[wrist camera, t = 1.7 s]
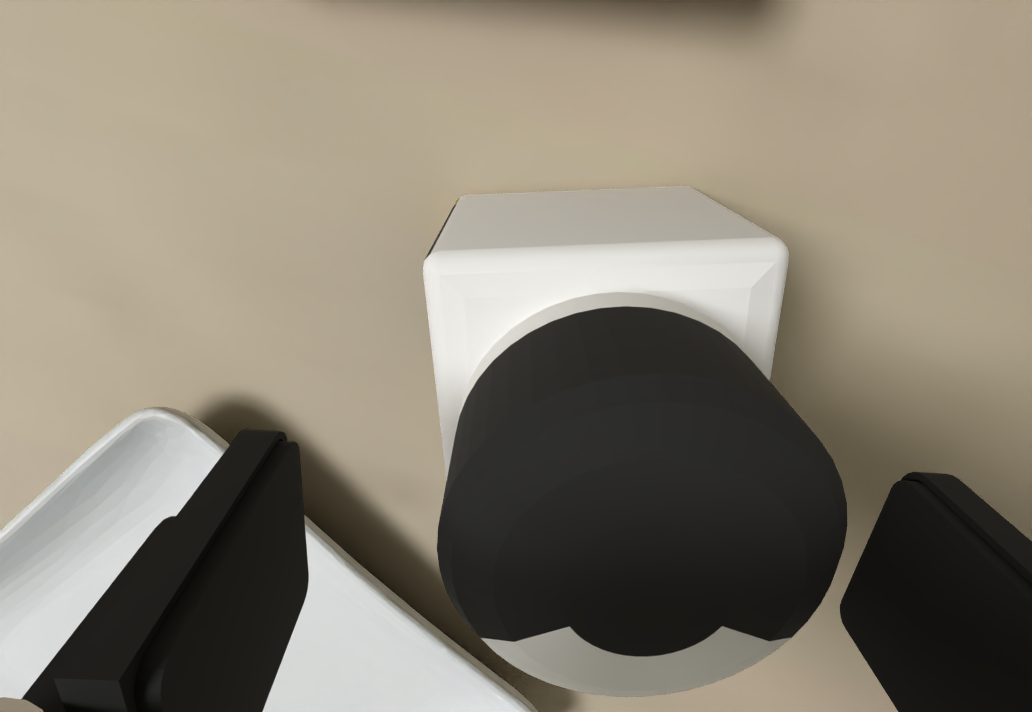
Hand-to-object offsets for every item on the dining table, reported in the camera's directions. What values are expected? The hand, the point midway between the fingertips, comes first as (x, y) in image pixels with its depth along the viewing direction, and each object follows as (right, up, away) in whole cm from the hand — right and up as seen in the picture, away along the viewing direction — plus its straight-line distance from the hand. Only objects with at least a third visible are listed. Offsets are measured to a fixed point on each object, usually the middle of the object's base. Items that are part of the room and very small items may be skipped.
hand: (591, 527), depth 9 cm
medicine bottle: (+1, +5, +10) cm, 11 cm away
